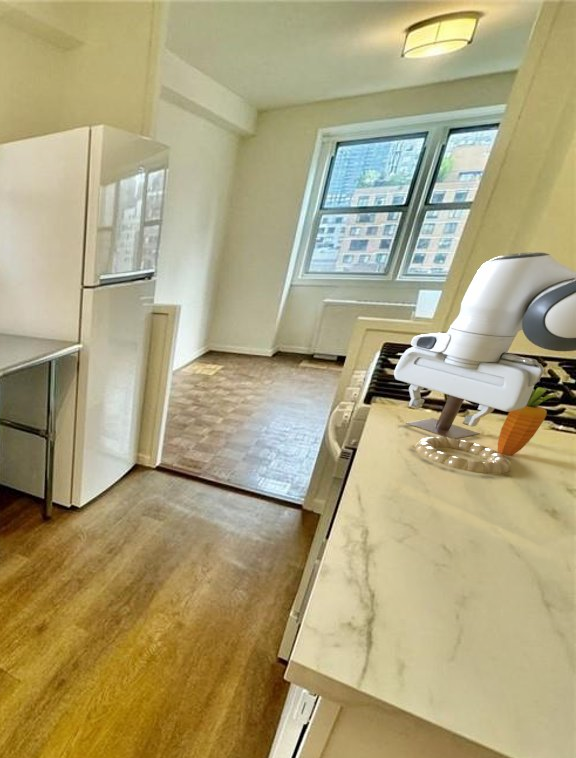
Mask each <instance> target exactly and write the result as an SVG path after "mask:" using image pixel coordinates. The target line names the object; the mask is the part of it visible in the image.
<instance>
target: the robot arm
mask: <svg viewBox="0 0 576 758" xmlns="http://www.w3.org/2000/svg"><path fill="white" fill-rule="evenodd" d="M521 331H522V333H523V334H524V336H525V338H526V339H527V340H528V341H529V342H530V343H531V344H533V345H535V346H537V347H539V348H541V349H544V350H548V351H554V352H574V351H576V271H575V270H573V269H571V268H569V267H567V266H566V265H564V264H562V263H561V262H559V261H558V260H556V259H555V258H554V257H553V256H552V255H551V254H550V253H547V252H540V251H539V252H519V253H518V252H517V253H509V254H503V255H499V256H496V257H493V258H491V259H489V260H488V261H486V262H484V263H483V264H482V265H481V266H480V268H479V269H478V270H477V272H476V274H475V275H474V276H473V278H472V280H471V282H470V284H469V286H468V288H467V289H466V291H465V293H464V296H463V298H462V300H461V303H460V310H459V314H458V316H456V318H455V319H454V321H453V322H452V323H451V324H450V326H449V329H448V331H442V332H436V333H425V334H419V335H414V336H413V338H411V341H410V345H411V347H409V348H407V349H405V351H404V352H403V353H402V355H401V356H400V358H399V360H398V362H397V364H396V366H395V368H394V370H393V376H394V379H395V380H397V381H400V382H403V383H407V384H409V385H410V386H409V387H408V392H409V397H410V400H409V403H408V407H410V408H413V409H416V410H417V409H421V408H422V407H423V404H424V403H425V400H426V399H423V398H421V391H423V390H424V389H426V390H427V389H428V390H431V391H433V392H437V393H441V394H444V395H448V396H450V395H451V396H454V397H458V398H461V399H464V401H468V402H472V403H475V404H479V405H478V408H477V410H479V411H478V412H476V413H475V414H466V415H465V417H464V418H463V419H464V420H462V425H466V426H468V427H471V428H473V427H476V426H477V425H478V424H479V423H480V420H481V418H484V417H485V416H487V415H489V414H491V413H492V412H494V411H495V409H496V410H498V411H499V410H500V411H503V412H507V413H509V412H510V411H515V410H519V409H521V408H524V407H525V406H526V405H527V404H528V401H529V399H530V396H531V394H532V391H533V389H534V388H535V385H536V384H537V383H539V381H540V380H541V378H542V376H543V374H544V373H545V369H544V366H543V365H542V364H541V363H539V362H538V360H537V359H534V358H532V357H531V358H530V357H524V356H520V355H516V354H511V353H508V352H509V350H510V348H511V346H512V344H513V343H514V341H515V340H516V336H517V335H518V333H519V332H521Z"/></svg>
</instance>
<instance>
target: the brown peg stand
mask: <svg viewBox="0 0 576 758" xmlns="http://www.w3.org/2000/svg"><path fill="white" fill-rule="evenodd" d="M464 401H465V399H461V398H458V397H454V396H451V395H448V398H447V400H446V402H445V404H444V407H443V408H442V411H441V413H440V414H439V417H438V419H437V418H434V417H430V418H425V419H420V420H419V419H418V420H413V421H409V422H405V424H406V425H409V426H411V427H415V428H418V429H421V430H422V431H427V432H430V433H432V434H435V435H437V436H440V437H446V438H453V439H463V438H468V437H472V436H477V435H480V432H477V431H474V430H472V429H471V430H470V429H468V428H465V427H462V426H458V425H456V424H454V422H455V420H456V418H457V415H458V413H459V411H460V409H461V406H463V403H464Z"/></svg>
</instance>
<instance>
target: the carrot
mask: <svg viewBox="0 0 576 758" xmlns="http://www.w3.org/2000/svg"><path fill="white" fill-rule="evenodd" d="M545 393H547V389H545V388H544V387H537V388H536V389H534V388H533V391H532V394H531V396H530V399H529V401H528V403H527V405H526V406H525V407H524V408H521V409H519V410H515V411H509V412H508V413H507V416H506V417H505V420H504V422H503V425H502V426H501V429H500V432H499V435H498V441H497V452H498V453H501V454H502V455H504V456H507V457H509V456H510V457H512V456H514V455H515V454H517V453H518V452H520V451H521V450H522V449H523V448H524V447H525V446H526V445H527V444H528V443H529V442H530V441H531V439H533V437H534V436H535V434H536V433H537V432H538V430H539V428H540V427H541V426H542V424H543V422H544V420H545V419H546V418H547V414H548V413H547V412H548V411H547V410H546V408H544V407H542V406H539V405H540V404H541V403H543V402H545V401H546V400H549V399H553V398H557V397H558V395H557V394H556V393H553V394H547V395H546V396H542V395H544V394H545Z"/></svg>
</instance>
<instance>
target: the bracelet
mask: <svg viewBox="0 0 576 758" xmlns="http://www.w3.org/2000/svg"><path fill="white" fill-rule="evenodd" d="M438 448H449V449H454V450H455V449H457V450H460V451H464V452H468V453H471V454H474V455H477V456H479V457H481V458H483V459H485V460H486V461H479V460H478V461H477V460H471V459H466V458H462V457H458V456H454V455H451V454H449V453H446V452H443V451H440V450H439V449H438ZM414 449H415V450H416V452H418V453H419V454H420V455H422V456H424V457H426V458H428V459H429V460H432V461H434V462H437V463H439V464H442V465H445V466H448V467H452V468H455V469H459V470H463V471H467V472H472V473H473V472H474V473H478V474H479V473H480V474H491V475H492V474H493V475H495V474H498V475H499V474H504V473H508V472H509V471H510V469H511V466H512V465H511V461H510V460H509V459H508V458H507V457H506V455H503V454H501V453H498V451H496V450H495V449H492V448H490V447H488V446H485V445H482V444H479V443H475V442H471V441H467V440H463V439H460V438H458V439H453V438H446V437H443V436H430V437H425V438H420V439H419V440H417V442H416V443H415V445H414Z"/></svg>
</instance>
